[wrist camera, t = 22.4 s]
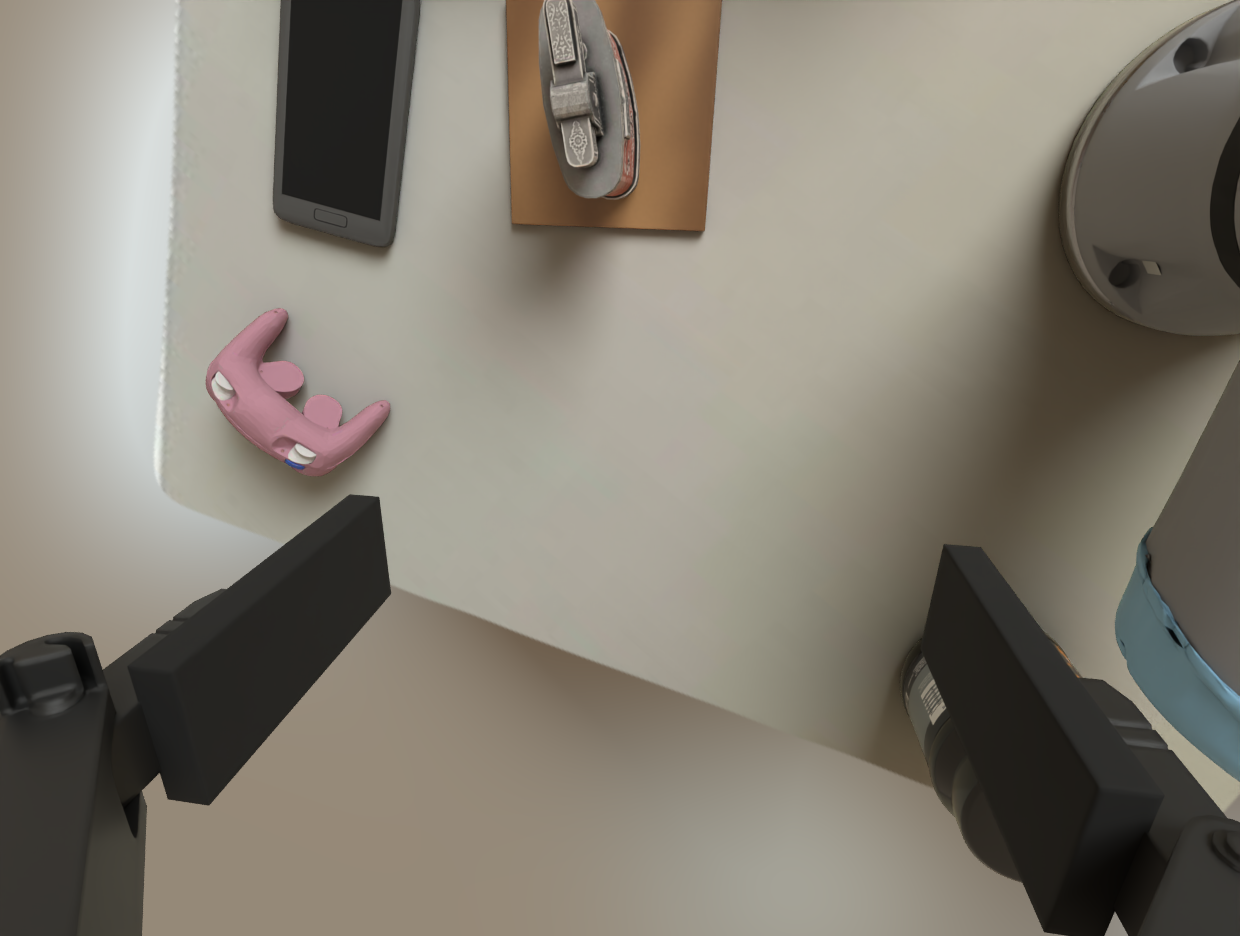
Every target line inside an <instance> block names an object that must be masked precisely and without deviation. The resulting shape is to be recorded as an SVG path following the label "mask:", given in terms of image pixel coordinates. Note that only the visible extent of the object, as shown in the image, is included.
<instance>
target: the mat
mask: <svg viewBox="0 0 1240 936" xmlns="http://www.w3.org/2000/svg"><path fill="white" fill-rule="evenodd" d="M595 1H596V3H597V4H598V6H599V8H600V10H601V12H602V15H603V18H604V21H605V25H606V28H607V30H610V31H611V32H612V33H613V34H614V35H616V36H617V38H618V40H619V42H620V44H621V45H622V47H623V50H624V54H625V57H626V60H627V64H628V67H629V70H630V74H631V77H632V81H633V86H634V92H635V97H636V102H637V108H638V113H639V129H640V146H641V147H640V168H639V180H638V184H637V186H636V188H635V189H634V191H633V192H632V193H631V194H629V195H628V196H627V197H625V198H622V199H619V200H609V199H605V198H602V197H600V198H584V197H582V196H579V195H576V194H575V193H574V192H573V191H571V190H570V189H569V188H568V186H567V184H566V182H565V181H564V178H563V175H562V172H561V169H560V166H559V163H558V160H557V157H556V155H555V152H554V149H553V146H552V142H551V137H550V133H549V129H548V124H547V120H546V116H545V111H544V107H543V99H542V89H541V80H540V70H539V16H540V10H541V8H542V6H543V2H544V0H506V16H507V55H508V94H509V132H510V171H511V210H512V224H529V225H554V226H580V227H606V228H632V229H658V230H684V231H705V222H706V209H707V195H708V182H709V168H710V155H711V141H712V128H713V114H714V101H715V88H716V74H717V61H718V47H719V34H720V20H721V7H722V0H595Z"/></svg>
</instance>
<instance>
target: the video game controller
mask: <svg viewBox="0 0 1240 936" xmlns="http://www.w3.org/2000/svg"><path fill="white" fill-rule="evenodd" d="M287 319H288V313H287V311H286V310H284V309H281V308H278V309H273V310H271V311H268V312H265V313H264V314H262V315H261V316H259V317H258V318H257V319H255V320H254V321H253V322H252V323H251V324H249V325H248V326H247V327H246V328H245V329H244V330H242V331H241V332H240V333H239V334H238V335H237V336H236V337H235V338H234V339H233V340H232V341H231V342H230V343H229V344H228V345H227V346H226V347H225V348H224V349H223V350H222V351H221V352H220V353H219V354H218V356H217V357H216V358H215V359H214V360H213V361H212V362H211V364H210V366H209V368H208V371H207V376H206V388H207V391H208V393H209V395H210V396H211V398H212V399H213V400H214V401H216V403H217V405H218V407H219V409H220V410H221V412H222V413H223V414H224V416H225V417H226V419H227V420H228V421H229V422H230V423H231V424H232V425H233V426H234V427H235V428H236V430H237V431H239V432H240V433H241V434H242V435H243V436H244V437H245V438H246V439H248V440H249V441H250V442H251V443H253V444H254V445H255V446H257V447H258V448H259V449H261V450H263V451H264V452H266V453H268V454H269V455H271V456H272V457H274V458H276V459H278V460H280V461H282V462H285V463H287V464H288V465H289V466H291V467H292V468H293V469H294V470H296V471H297V472H299V473H302V474H304V475H308V476H322V475H325V474H327V473H329V472H331V471H332V470H334V469H335V468H336V466H337V465H338V464H339V463H341V462H343V461H344V460H346V459H347V458H349V457H350V456H351V455H353V454H354V453H355V452H356V451H357V450H358V449H360V448H361V447H362V446H363V445H364V444H365V443H366V442H367V440H368V439H369V438H370V437H371V436H372V435H373V434H374V433H375V432H376V430H377V429H378V428H379V427H380V426H381V425H382V423H383V422H384V421H385V419H386V418H387V416H388V414H389V412H390V403H389V402H388V401H386V400H384V401H378V402H375V403H373V404H372V405H370V406H368V407H366V408H365V409H364V410H362V411H361V412H360V413H358V414H357V415H356V416H355V417H353V418H352V419H351V420H350V421H348V422H347V423H345V424H343V425H341V426H339V422H340V419H341V416H342V407H341V405H340V404H339V403H338V402H337V401H336V400H335V399H333V398H331V397H329V396H326V395H315V396H313V397H311V398H310V399H309V400H308V401H307V402H306V404H305V407H304V409H303V412H302V414H301V413H300V412H299V411H298V410H297V409H295V408H294V407H293V406H292V405H291V404H290V403H289V402H287V401H286V400H285V399H288V398H290V397H293V396H295V395H296V394H297V393H298V392H299V390H300V388H301V386H302V385H303V382H304V376H303V373H302V372H301V370H300V369H299V368H298V367H297V366H296V365H294V364H293V363H291V362H287V361H276V362H266V363H264V362H263V361H262V359H263V356H264V354H265V352H266V350H267V349H268V347H269V346H270V345H271V344H272V342H273V341H274V340H275V339H276V337H277V336H278V335H279V334H280V332H281V331H282V329H283V328H284V326H285V324H286V321H287Z"/></svg>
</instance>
